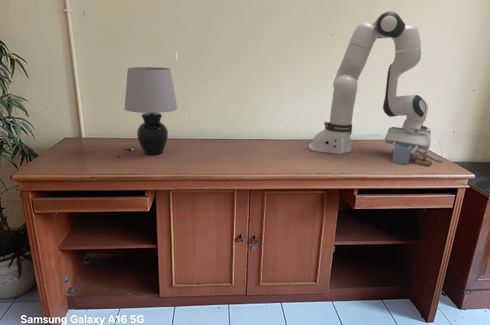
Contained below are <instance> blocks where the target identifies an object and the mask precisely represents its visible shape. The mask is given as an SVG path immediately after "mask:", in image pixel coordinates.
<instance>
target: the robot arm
mask: <svg viewBox="0 0 490 325" xmlns="http://www.w3.org/2000/svg"><path fill="white" fill-rule="evenodd" d="M389 38H390V39H392V40H393V43H394V58H393V61H392V63H390V65H389V66H388V70H387V77H386V87H385V96H384V100H383V104H382V110H383V112H384V114H385V115H387V116H388V117H390V118H391V117H398V116H403V117H404V116H406V119H404V122H403V124H402V127H396V126H392V127H389V128H388V129H387V133H386V135H385V137H384V140H385V143H386V144H389V145H392V147H393V148H392V152H393V153H394V147H395V145H397V144H398V143H399V144H405V145H411V146H412V148H415V149H414V150H411V152H410V155H411V156H413V155H414V154H415V153H417V152H416V151H417V150H418V149H422V150H423V151H424V150H425V151H428V150H429V149H430V146H431V135H432V134H431V133H432V131H431V130H432V129H431V128H430V127H427V126H425V125H424V123H425V121H426V118H427V115H428V113H429V112H428V111H429V104H428V103H427V101H425V99H423V97H421V96H420V95H419V94H409V95H408V94H407V95H397V89H398V81H399V78H400V77H401V76H402V75H403V74H404V73H406V72H408V71H410V70H411V69H414V67H416V66H417V65H418V64H419V63H420V61H421V58H422V47H421V46H422V45H421V44H422V43H421V42H422V41H421V37H420V32H419V28H418V27H417V26H416V25H414V24H406V23H405V22H404V21H403V19H402V17H401V16H400V15H399V14H397V12H395V11H385V12H384V13H382V14H381V15H379V16H378V18H377V19H376V20H375V21H374V22H366V21H365V22H361V23H359V24H358V25H357V26H356V28H355V29H354V31H353V33H352V35H351V38H350V40H349V42H348V45H347V48H346V50H345V53H344V55H343V58H342V60H341V63H340V65H339V68H338V70H337V71H336V72H337V73H336V74H335V77H334V79H333V82H332V85H333V86H332V87H333V91H332V101H331V106H330V107H331V108H330V116H329V117H330V118H329V121H324V123H323V124H324V126H325V127H324V129H323V130H321V131H320V132H318V133H316V135H315V136H314V137H313V139H312V142H310V143H308V146H307V148H308V149H309V150H310V151H312V152H319V153H320V152H321V153H329V154H336V155H337V154H338V155H342V154H345V153H346V154H347V153H350V152H352V144H351V142H352V141H351V135H352V134H353V133H352V132H353V124H352V122H353V115H354V107H355V103H356V98H357V92H358V80H359V78H360V76H361V73H362V72H363V70H364V69H365V66H366V64H367V61H368V58H369V55H370V53H371V52H372V49H373V45H374V44H375V42H376V40H377V39H389Z"/></svg>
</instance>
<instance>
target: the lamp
mask: <svg viewBox="0 0 490 325" xmlns="http://www.w3.org/2000/svg"><path fill="white" fill-rule="evenodd" d="M171 70H172V69H171V68H170V67H160V66H159V67H156V66H155V67H152V66H150V67H149V66H142V67H141V66H139V67H138V66H136V67H135V66H133V67H127V72H126V73H127V75H126V87H125V98H124V99H125V100H124V110H125V111H127V112H130V113H131V112H132V113H139V114H140V113H141V118H142V120H143V123H141V124H140V125H139V126H138V128H137V140H138V143H139V145H140V147H141V150H143V153H144V155H146V156H150V157H151V156H153V157H155V156H160V155H162V154H163V153H164V149H165V148H166V145H167V142H168V139H169V138H168V137H169V131H168V128H167V127H166V125H165V124H164V123H162V122H161V119H162V117H163V115H162V113H167V112H168V113H169V112H174V111H177V110H178V104H177V99H176V98H177V97H176V93H175V88H174V86H175V85H174V82H173V76H172V71H171Z"/></svg>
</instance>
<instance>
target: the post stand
mask: <svg viewBox="0 0 490 325" xmlns="http://www.w3.org/2000/svg"><path fill="white" fill-rule="evenodd" d="M423 151H424V150H423ZM427 153H428V151H427V150H425V151H424V155H422V158H420V157H418V158H417V159H415V163H414V164H415V165H419V166H421V167H428V168H429V167H430V166H431V165H432V162H433V160H432V159H431V160H430V159H427V157H426V155H427Z"/></svg>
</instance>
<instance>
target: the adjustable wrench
mask: <svg viewBox="0 0 490 325" xmlns="http://www.w3.org/2000/svg"><path fill="white" fill-rule="evenodd" d="M414 149H415V148H412V150H414ZM415 153H418V154H420V155H422V156H423V155H424V149H418V150H417V151H416V152H415ZM426 158H428V159H429V160H430V159H431V161H434V162H436V163H440V164H441V163H443V161H444V160H443V159H441V158H439V157H437V156H435V155H433V154H431V153H428V152H427V155H426Z"/></svg>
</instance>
